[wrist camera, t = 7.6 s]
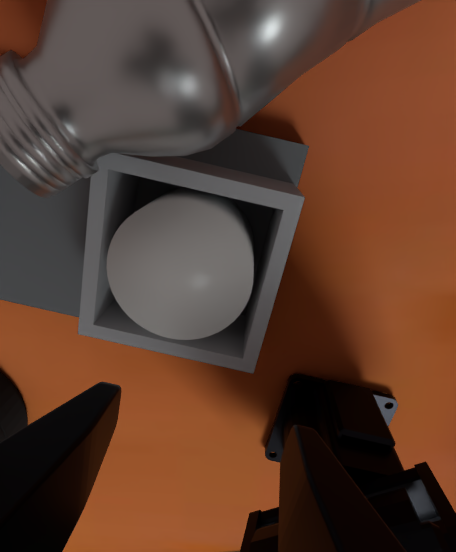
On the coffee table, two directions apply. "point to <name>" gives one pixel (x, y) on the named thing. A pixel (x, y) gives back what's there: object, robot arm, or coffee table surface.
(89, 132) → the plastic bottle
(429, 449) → the coffee table surface
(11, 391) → the pen holder
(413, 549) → the robot arm
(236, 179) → the twin socket base plate
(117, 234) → the grey button
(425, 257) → the coffee table surface
